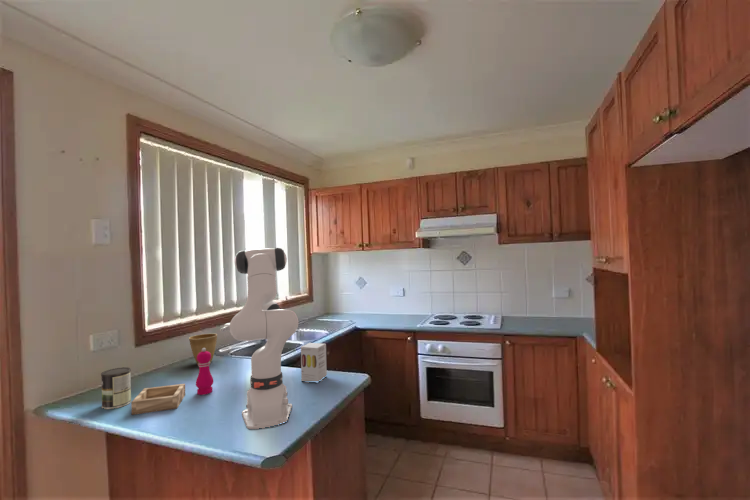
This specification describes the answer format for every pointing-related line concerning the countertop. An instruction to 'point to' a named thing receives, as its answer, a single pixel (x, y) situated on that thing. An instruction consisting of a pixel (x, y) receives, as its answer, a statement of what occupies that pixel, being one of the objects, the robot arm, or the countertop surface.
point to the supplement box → (313, 362)
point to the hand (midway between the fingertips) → (227, 331)
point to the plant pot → (203, 344)
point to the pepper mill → (204, 373)
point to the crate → (158, 399)
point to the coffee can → (116, 388)
